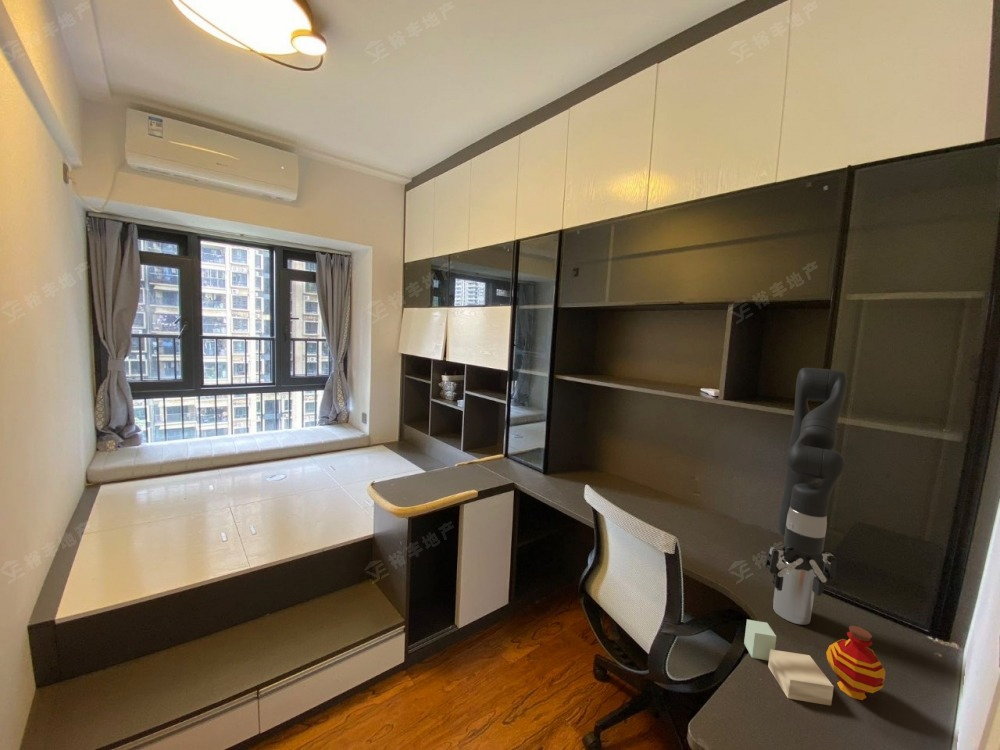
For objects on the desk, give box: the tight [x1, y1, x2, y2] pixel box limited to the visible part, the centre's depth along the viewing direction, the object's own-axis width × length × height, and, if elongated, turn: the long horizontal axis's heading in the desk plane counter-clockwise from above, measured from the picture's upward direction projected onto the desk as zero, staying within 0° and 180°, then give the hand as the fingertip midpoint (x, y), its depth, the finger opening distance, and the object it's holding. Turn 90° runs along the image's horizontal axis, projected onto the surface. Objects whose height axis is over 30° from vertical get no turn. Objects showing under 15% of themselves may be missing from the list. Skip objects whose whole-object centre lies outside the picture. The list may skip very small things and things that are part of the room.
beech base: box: [767, 649, 835, 706], centre depth 95 cm, size 9×9×5 cm
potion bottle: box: [826, 625, 886, 701], centre depth 94 cm, size 10×10×15 cm
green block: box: [743, 619, 777, 662], centre depth 105 cm, size 5×5×7 cm
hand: (796, 591), depth 97 cm, fingers open, 8 cm apart
